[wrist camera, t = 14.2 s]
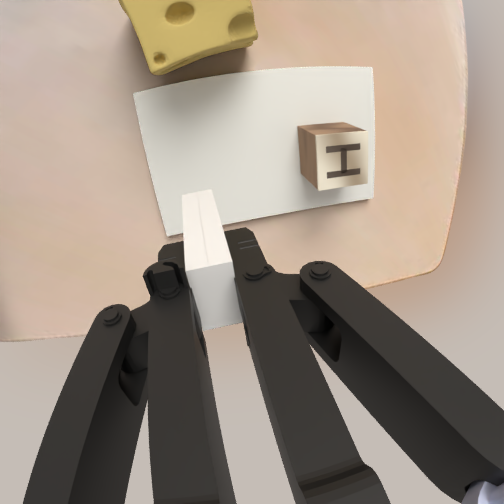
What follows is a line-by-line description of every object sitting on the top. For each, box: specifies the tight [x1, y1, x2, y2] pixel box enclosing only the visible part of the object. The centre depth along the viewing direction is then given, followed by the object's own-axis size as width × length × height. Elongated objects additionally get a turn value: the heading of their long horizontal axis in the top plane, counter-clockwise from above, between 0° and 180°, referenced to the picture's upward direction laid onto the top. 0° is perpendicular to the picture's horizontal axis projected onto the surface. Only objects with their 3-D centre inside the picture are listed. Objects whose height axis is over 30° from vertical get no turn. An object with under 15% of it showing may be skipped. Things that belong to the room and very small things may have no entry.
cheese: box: [119, 0, 258, 75], centre depth 23 cm, size 10×11×10 cm
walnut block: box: [297, 122, 368, 191], centre depth 34 cm, size 6×6×6 cm
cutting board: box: [133, 66, 375, 236], centre depth 35 cm, size 28×18×1 cm, turn 97°
